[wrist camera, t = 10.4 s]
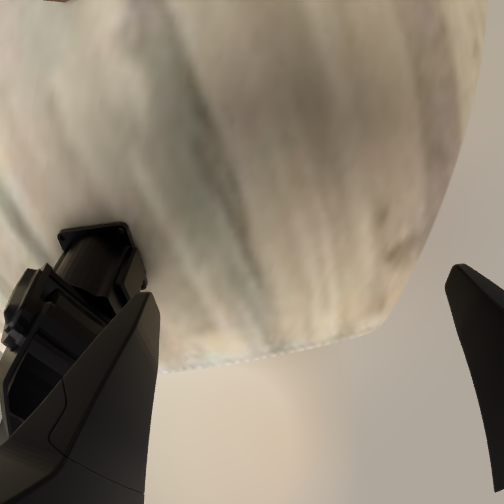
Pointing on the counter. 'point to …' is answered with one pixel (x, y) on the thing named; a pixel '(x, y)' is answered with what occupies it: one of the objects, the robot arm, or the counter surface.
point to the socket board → (57, 0)
